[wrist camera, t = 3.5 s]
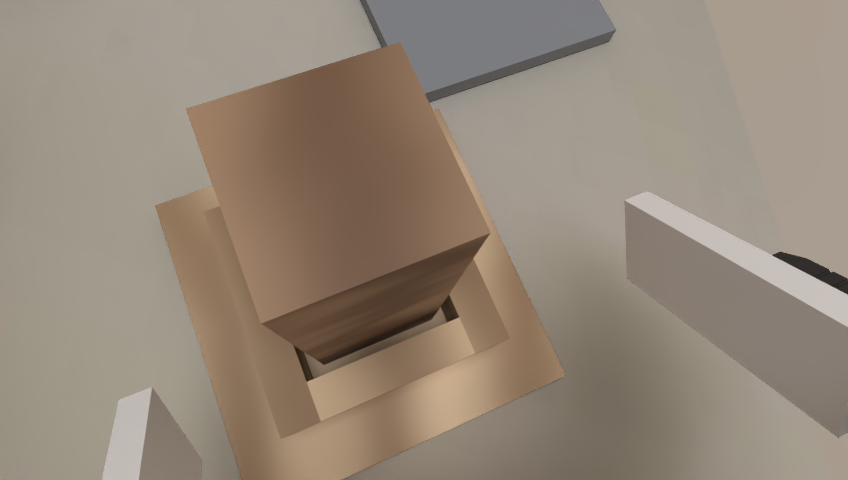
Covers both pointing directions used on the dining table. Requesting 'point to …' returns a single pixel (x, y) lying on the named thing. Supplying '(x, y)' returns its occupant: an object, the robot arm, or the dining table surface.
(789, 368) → the robot arm
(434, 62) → the rubber mat
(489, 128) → the dining table surface
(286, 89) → the walnut block
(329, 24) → the dining table surface
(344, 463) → the oak pocket board
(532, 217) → the dining table surface
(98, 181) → the dining table surface
